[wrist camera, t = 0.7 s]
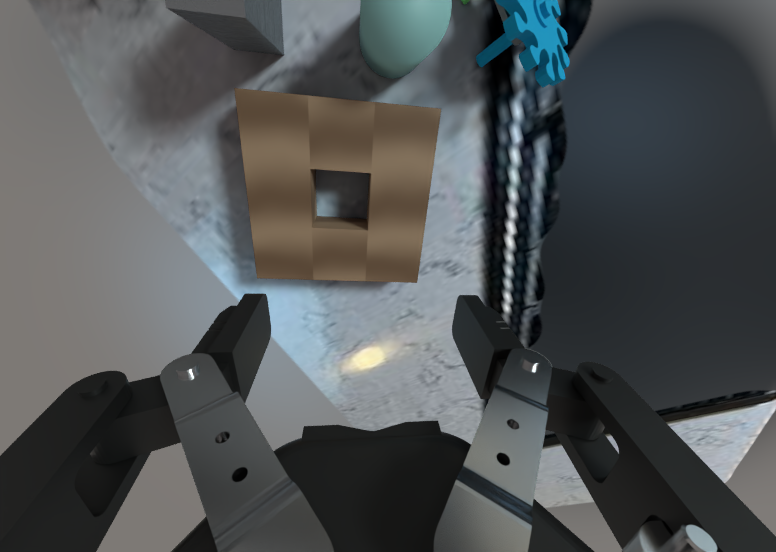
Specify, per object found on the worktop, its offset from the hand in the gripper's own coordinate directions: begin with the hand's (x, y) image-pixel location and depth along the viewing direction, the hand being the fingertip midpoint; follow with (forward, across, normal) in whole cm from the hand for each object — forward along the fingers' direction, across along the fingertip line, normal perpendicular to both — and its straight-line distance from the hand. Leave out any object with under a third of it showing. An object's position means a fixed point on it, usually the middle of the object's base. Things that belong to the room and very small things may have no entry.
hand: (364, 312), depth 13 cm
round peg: (+21, -3, -14) cm, 25 cm away
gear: (+21, -12, -15) cm, 29 cm away
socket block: (+21, +2, -1) cm, 21 cm away
